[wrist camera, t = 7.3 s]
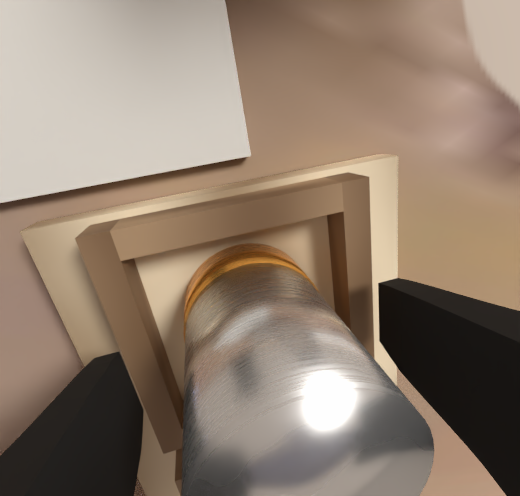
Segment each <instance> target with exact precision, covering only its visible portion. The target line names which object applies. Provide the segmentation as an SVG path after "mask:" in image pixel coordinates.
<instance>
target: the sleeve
mask: <svg viewBox="0 0 520 496" xmlns="http://www.w3.org/2000/svg"><path fill="white" fill-rule="evenodd" d="M183 334H184V342H185V369H184V409H183V449H182V489H181V496H419V495H420V494H421V492H422V490H423V488H424V486H425V484H426V482H427V480H428V477H429V475H430V472H431V468H432V464H433V457H434V443H433V437H432V434H431V430H430V428H429V426H428V424H427V423H426V421H425V419H424V418H423V417H422V416H421V415H420V413H419V412H418V411H417V410H416V409H415V407H414V406H413V405H412V404H411V403H410V401H409V400H408V399H407V398H406V397H405V395H404V394H403V393H402V392H401V391H400V389H399V388H398V387H397V386H396V385H395V383H394V382H393V381H392V380H391V379H390V377H389V376H388V375H387V374H386V373H385V371H384V370H383V369H382V368H381V367H380V365H379V364H378V363H377V362H376V361H375V359H374V358H373V357H372V356H371V355H370V353H369V352H368V351H367V350H366V349H365V347H364V346H363V345H362V344H361V343H360V341H359V340H358V339H357V338H356V337H355V335H354V334H353V333H352V332H351V331H350V329H349V328H348V327H347V326H346V325H345V323H344V322H343V321H342V320H341V319H340V317H339V316H338V315H337V314H336V313H335V311H334V310H333V309H332V308H331V307H330V305H329V304H328V303H327V302H326V301H325V299H324V298H323V297H322V296H321V295H320V293H319V291H318V289H317V288H316V286H315V285H314V283H313V282H312V281H311V280H310V279H309V278H308V276H307V275H306V274H305V273H304V272H303V270H302V269H301V268H300V267H299V266H298V265H297V263H296V262H295V261H294V260H293V259H292V258H291V257H290V256H289V255H287V254H286V253H284V252H283V251H281V250H279V249H277V248H275V247H272V246H269V245H265V244H259V243H246V244H239V245H234V246H231V247H228V248H225V249H223V250H221V251H219V252H217V253H215V254H214V255H212V256H211V257H209V258H208V259H207V260H206V261H204V262H203V263H202V264H201V265H200V267H199V268H198V269H197V270H196V272H195V273H194V274H193V276H192V278H191V280H190V282H189V284H188V287H187V290H186V294H185V305H184V333H183Z"/></svg>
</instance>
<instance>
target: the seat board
mask: <svg viewBox="0 0 520 496" xmlns="http://www.w3.org/2000/svg"><path fill="white" fill-rule="evenodd" d="M20 233H21V235H22V238H23V240H24V242H25V244H26V246H27V248H28V250H29V252H30V254H31V256H32V258H33V261H34V263H35V265H36V267H37V269H38V271H39V273H40V275H41V277H42V279H43V281H44V284H45V286H46V288H47V290H48V292H49V294H50V296H51V298H52V300H53V302H54V304H55V307H56V309H57V311H58V313H59V315H60V317H61V319H62V321H63V323H64V325H65V327H66V330H67V332H68V334H69V336H70V338H71V340H72V342H73V344H74V346H75V348H76V350H77V353H78V355H79V357H80V359H81V361H82V363H83V365H84V367H85V366H86V365H87V364H89V363H90V362H91V361H92V360H93V359H94V358H96V357H100V356H103V355H107V354H111V353H115V352H120V354H121V357H122V359H123V361H124V364H125V366H126V369H127V371H128V373H129V376H130V378H131V381H132V383H133V385H134V388H135V390H136V393H137V395H138V398H139V400H140V402H141V405H142V407H143V410H144V413H143V434H142V448H141V456H140V462H139V468H138V474H137V478H138V480H139V482H140V484H141V486H142V488H143V491H144V493H145V495H146V496H181V489H182V449H183V409H184V369H185V342H184V334H183V333H184V305H185V294H186V290H187V287H188V284H189V282H190V280H191V278H192V276H193V274H194V273H195V272H196V270H197V269H198V268H199V267H200V265H201V264H202V263H203V262H204V261H206V260H207V259H208V258H209V257H211V256H212V255H214V254H215V253H217V252H219V251H221V250H223V249H225V248H228V247H231V246H234V245H239V244H246V243H259V244H265V245H269V246H272V247H275V248H277V249H279V250H281V251H283V252H284V253H286V254H287V255H289V256H290V257H291V258H292V259H293V260H294V261H295V262H296V263H297V265H298V266H299V267H300V268H301V269H302V270H303V272H304V273H305V274H306V275H307V276H308V278H309V279H310V280H311V281H312V282H313V283H314V285H315V286H316V288H317V289H318V291H319V293H320V295H321V296H322V297H323V298H324V299H325V301H326V302H327V303H328V304H329V305H330V307H331V308H332V309H333V310H334V311H335V313H336V314H337V315H338V316H339V317H340V319H341V320H342V321H343V322H344V323H345V325H346V326H347V327H348V328H349V329H350V331H351V332H352V333H353V334H354V335H355V337H356V338H357V339H358V340H359V341H360V343H361V344H362V345H363V346H364V347H365V349H366V350H367V351H368V352H369V353H370V355H371V356H372V357H373V358H374V359H375V361H376V362H377V363H378V364H379V365H380V367H381V368H382V369H383V370H384V371H385V373H386V374H387V375H388V376H389V377H390V379H391V380H392V381H393V382H394V383H395V385H396V386H397V366H396V365H395V363H394V362H393V360H392V359H391V358H390V356H389V355H388V353H387V352H386V350H385V349H384V347H383V346H382V344H381V343H380V341H379V297H378V283H381V282H384V281H388V280H392V279H396V278H397V270H398V155H386V154H377V155H372V156H367V157H362V158H357V159H352V160H347V161H342V162H337V163H332V164H327V165H322V166H317V167H312V168H307V169H302V170H297V171H292V172H287V173H282V174H277V175H272V176H267V177H262V178H257V179H251V180H246V181H241V182H236V183H231V184H226V185H221V186H216V187H211V188H206V189H201V190H196V191H191V192H186V193H181V194H176V195H171V196H166V197H161V198H156V199H151V200H146V201H141V202H136V203H131V204H126V205H121V206H116V207H111V208H106V209H100V210H95V211H90V212H85V213H80V214H75V215H70V216H65V217H60V218H55V219H50V220H45V221H40V222H36V223H35V224H33V225H31V226H29V227H27V228H26V229H24V230H22V231H20Z"/></svg>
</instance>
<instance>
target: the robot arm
mask: <svg viewBox="0 0 520 496" xmlns="http://www.w3.org/2000/svg"><path fill="white" fill-rule="evenodd" d="M378 297H379V341H380V343H381V344H382V346H383V347H384V349H385V350H386V352H387V353H388V355H389V356H390V358H391V359H392V360H393V362H394V363H395V365H396V366H397V367H398V369H399V370H400V371H401V373H402V374H403V375H404V376H405V377H406V378H407V380H408V381H409V382H410V383H411V384H412V385H413V386H414V387H415V389H416V390H417V391H418V392H419V393H420V394H421V395H422V396H423V398H424V399H425V400H426V401H427V402H428V403H429V404H430V405H431V406H432V407H433V409H434V410H435V411H436V412H437V413H438V414H439V415H440V416H441V417H442V419H443V420H444V421H445V422H446V423H447V424H448V425H449V426H450V427H451V429H452V430H453V431H454V432H455V433H456V434H457V435H458V436H459V437H460V439H461V440H462V441H463V442H464V443H465V444H466V445H467V446H468V448H469V449H470V450H471V451H472V452H473V453H474V455H475V456H476V457H477V458H478V459H479V461H480V462H481V463H482V464H483V465H484V467H485V468H486V469H487V471H488V472H489V473H490V475H491V476H492V477H493V478H494V480H495V481H496V482H497V484H498V485H499V486H500V488H501V489H502V490H503V492H504V493H505V494H506V495H507V496H520V311H517V310H513V309H510V308H506V307H502V306H498V305H495V304H491V303H487V302H484V301H480V300H477V299H473V298H470V297H466V296H463V295H459V294H456V293H452V292H449V291H446V290H442V289H439V288H435V287H432V286H428V285H425V284H421V283H417V282H413V281H409V280H405V279H400V278H396V279H392V280H388V281H384V282H381V283H378ZM143 413H144V410H143V407H142V405H141V402H140V400H139V398H138V395H137V393H136V390H135V388H134V385H133V383H132V381H131V378H130V376H129V373H128V371H127V369H126V366H125V364H124V361H123V359H122V357H121V354H120V352H115V353H111V354H107V355H103V356H100V357H96V358H94V359H93V360H92V361H91V362H90V363H89V364H87V365H86V366H85V368H84V369H83V370H82V371H81V372H80V373H79V374H78V375H77V376H76V377H75V378H74V379H73V380H72V381H71V382H70V383H69V384H68V385H67V387H66V388H65V389H64V390H63V391H62V392H61V393H60V394H59V395H58V396H57V397H56V398H55V400H54V401H53V402H52V403H51V404H50V405H49V406H48V407H47V408H46V409H45V410H44V411H43V412H42V413H41V414H40V415H39V417H38V418H37V419H36V420H35V421H34V422H33V423H32V424H31V425H30V426H29V427H28V428H27V429H26V430H25V431H24V433H23V434H22V435H21V436H20V437H19V438H18V439H17V440H16V441H15V442H14V443H13V444H12V445H11V446H10V447H9V448H8V449H7V450H6V451H5V452H4V453H3V454H2V455H1V456H0V496H134V491H135V485H136V479H137V474H138V468H139V462H140V456H141V448H142V434H143Z"/></svg>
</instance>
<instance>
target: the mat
mask: <svg viewBox="0 0 520 496" xmlns="http://www.w3.org/2000/svg"><path fill="white" fill-rule="evenodd" d="M248 156H251V153H250V147H249V141H248V135H247V129H246V123H245V117H244V111H243V105H242V99H241V93H240V87H239V81H238V75H237V69H236V63H235V57H234V51H233V45H232V39H231V33H230V27H229V21H228V15H227V8H226V2H225V0H0V203H3V202H8V201H14V200H19V199H24V198H30V197H35V196H40V195H46V194H51V193H56V192H62V191H67V190H72V189H78V188H83V187H88V186H94V185H99V184H104V183H110V182H115V181H120V180H126V179H131V178H136V177H142V176H147V175H152V174H158V173H163V172H168V171H174V170H179V169H184V168H190V167H195V166H200V165H206V164H211V163H216V162H222V161H227V160H232V159H238V158H243V157H248Z"/></svg>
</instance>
